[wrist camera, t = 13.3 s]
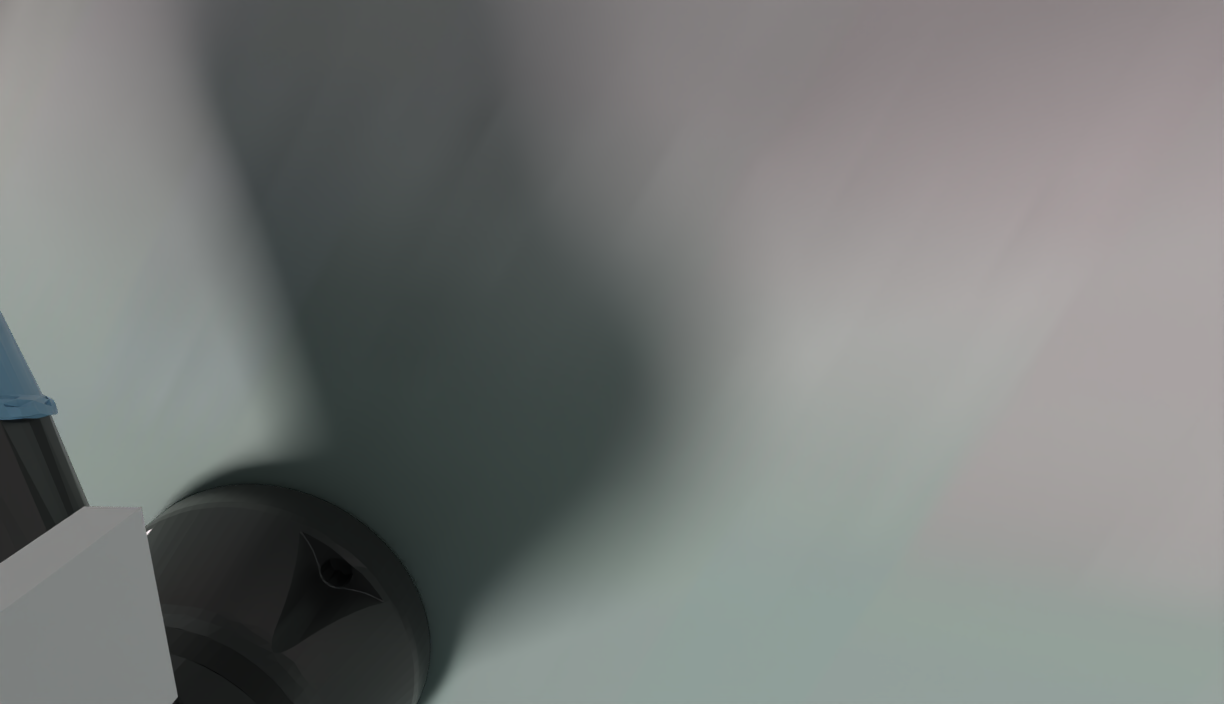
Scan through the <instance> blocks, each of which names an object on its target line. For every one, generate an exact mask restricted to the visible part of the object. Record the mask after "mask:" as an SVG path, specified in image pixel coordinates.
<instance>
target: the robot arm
mask: <svg viewBox="0 0 1224 704" xmlns="http://www.w3.org/2000/svg"><path fill="white" fill-rule="evenodd" d="M57 413H58V411H57V407H56V404H55V402H54V400H53V399H51V398H49V397H47V396H45V395H43V394H42V392H41V390H40V388H39V386H38V384H37V382H36V380H35V378H34V376H33V374H32V372H31V370H30V368H29V366H28V365H27V363H26V361H25V359H24V357H23V355H22V353H21V351H20V349H19V347H18V345H17V343H16V341H15V339H14V337H13V335H12V333H11V331H10V329H9V327H8V325H7V323H6V321H5V319H4V317H3V315H2V313H1V312H0V704H417V702H418V700H419V698H420V695H421V693H422V690H423V688H424V685H425V681H426V678H427V673H428V668H429V661H430V636H429V629H428V623H427V618H426V614H425V611H424V608H423V604H422V602H421V599H420V597H419V594H418V592H417V590H416V588H415V586H414V584H413V582H412V580H411V578H410V576H409V575H408V573H407V571H406V570H405V568H404V567H403V565H402V564H401V562H400V561H399V560H398V559H397V557H396V556H395V555H394V553H393V552H392V551H391V550H390V549H389V548H388V547H387V545H386V544H385V543H384V542H383V541H382V540H381V539H380V538H379V537H378V536H377V535H376V534H374V533H373V532H372V531H371V530H370V529H369V528H367V527H366V526H365V525H364V524H362V523H361V522H360V521H358V520H357V519H355V518H354V517H352V516H351V515H349V514H348V513H346V512H345V511H343V510H341V509H339V508H338V507H336V506H334V505H332V504H330V503H328V502H326V501H324V500H321V499H319V498H316V497H314V496H311V495H308V494H305V493H302V492H299V491H295V490H291V489H288V488H282V487H277V486H270V485H258V484H239V485H229V486H223V487H217V488H213V489H209V490H205V491H202V492H199V493H197V494H194V495H192V496H189V497H187V498H185V499H183V500H181V501H179V502H178V503H176V504H174V505H173V506H171V507H170V508H168V509H167V510H165V511H164V512H163V513H162V514H160V515H159V516H158V517H157V518H155V519H154V520H153V521H151V522H150V523H149V524H148V525H146V526H145V523H144V517H143V512H142V507H90V506H89V504H88V501H87V499H86V496H85V494H84V492H83V489H82V487H81V485H80V482H79V480H78V477H77V475H76V473H75V470H74V468H73V466H72V463H71V461H70V459H69V456H68V454H67V451H66V449H65V447H64V444H63V442H62V440H61V437H60V435H59V433H58V430H57V428H56V425H55V423H54V421H53V418H52V416H51V415H53V414H57Z"/></svg>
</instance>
